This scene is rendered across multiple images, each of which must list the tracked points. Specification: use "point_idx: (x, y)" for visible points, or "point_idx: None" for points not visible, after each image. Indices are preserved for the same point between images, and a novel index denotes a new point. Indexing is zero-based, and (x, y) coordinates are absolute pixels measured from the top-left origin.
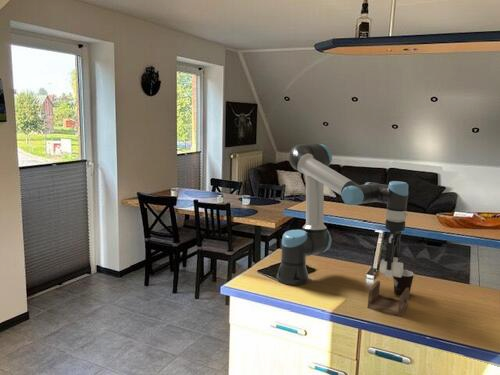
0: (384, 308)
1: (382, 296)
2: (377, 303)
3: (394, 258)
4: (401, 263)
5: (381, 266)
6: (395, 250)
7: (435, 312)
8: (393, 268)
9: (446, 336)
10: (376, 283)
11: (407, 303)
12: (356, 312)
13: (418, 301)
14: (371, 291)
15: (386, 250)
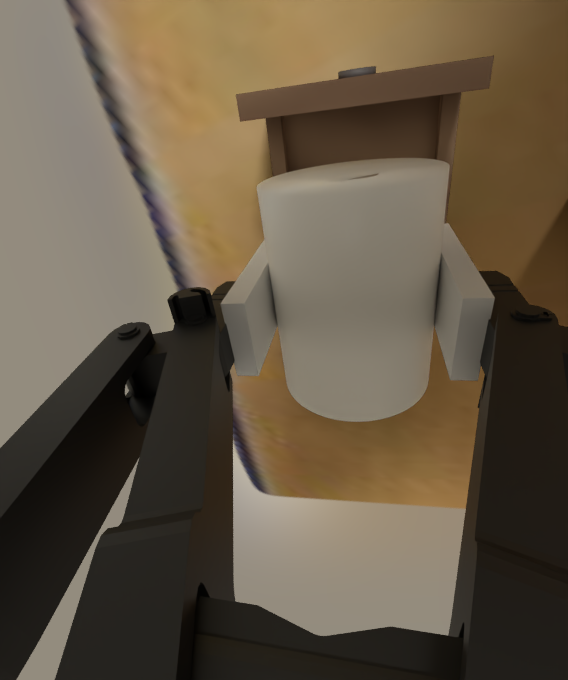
0: None
1: (439, 125)
2: (335, 132)
3: (454, 341)
4: (340, 417)
5: (260, 208)
6: (476, 438)
7: (431, 373)
8: (279, 334)
9: (256, 415)
10: (408, 85)
11: None
12: (168, 66)
13: (533, 297)
14: (241, 118)
15: (13, 443)
